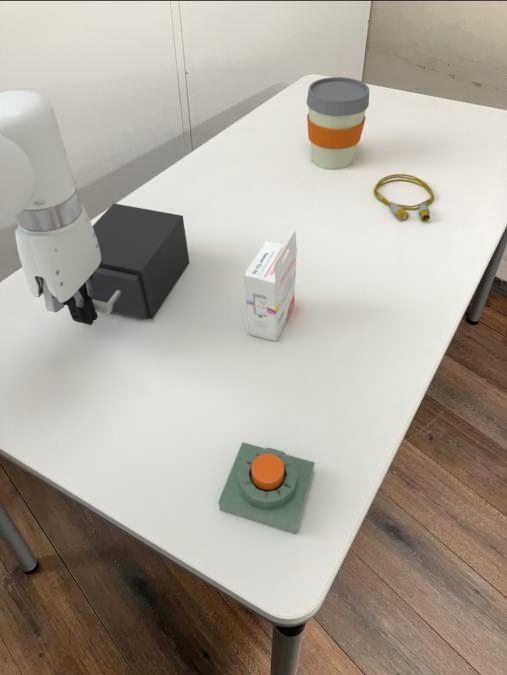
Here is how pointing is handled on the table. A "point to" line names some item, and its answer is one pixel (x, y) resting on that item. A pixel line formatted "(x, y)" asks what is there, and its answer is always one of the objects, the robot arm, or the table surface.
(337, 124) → the reusable coffee cup
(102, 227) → the black hollow box
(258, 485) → the button
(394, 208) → the extension cord
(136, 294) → the drawer
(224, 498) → the control box
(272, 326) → the ink cartridge box
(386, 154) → the table surface
